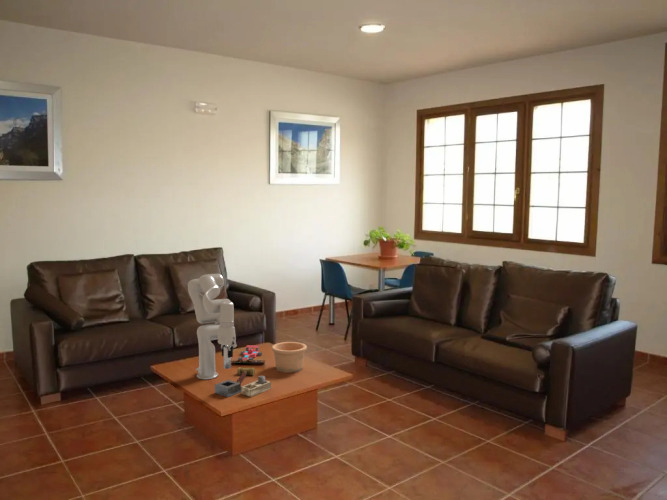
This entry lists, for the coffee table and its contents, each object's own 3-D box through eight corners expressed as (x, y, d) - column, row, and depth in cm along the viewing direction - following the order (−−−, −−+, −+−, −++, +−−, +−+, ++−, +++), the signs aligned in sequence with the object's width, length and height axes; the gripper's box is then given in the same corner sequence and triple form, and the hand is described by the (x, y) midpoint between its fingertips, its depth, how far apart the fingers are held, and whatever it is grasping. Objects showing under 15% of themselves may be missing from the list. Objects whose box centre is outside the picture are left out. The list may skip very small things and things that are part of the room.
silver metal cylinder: (222, 367, 317) (222, 346, 316) (227, 365, 321) (227, 345, 319) (227, 369, 315) (227, 347, 314) (232, 367, 318) (232, 346, 317)
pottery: (265, 368, 363) (264, 345, 361) (292, 361, 377) (292, 339, 376) (285, 376, 347) (285, 353, 345) (313, 369, 361) (313, 346, 360)
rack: (240, 393, 318) (240, 381, 317) (260, 385, 330) (260, 374, 330) (251, 396, 313) (251, 384, 312) (271, 388, 326) (271, 376, 325)
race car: (231, 355, 370) (242, 344, 395) (231, 364, 371) (243, 353, 396) (253, 356, 368) (263, 345, 393) (253, 365, 369) (263, 354, 394)
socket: (215, 393, 318) (214, 384, 318) (228, 388, 326) (228, 379, 326) (227, 397, 312) (227, 388, 312) (240, 392, 320) (240, 383, 320)
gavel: (245, 380, 331) (229, 379, 332) (246, 387, 332) (229, 387, 333) (255, 366, 351) (239, 366, 352) (255, 373, 352) (239, 373, 353)
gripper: (211, 323, 317) (211, 355, 319) (232, 327, 307) (233, 361, 309) (221, 320, 323) (221, 352, 325) (242, 325, 313) (243, 357, 315)
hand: (227, 356), depth 317 cm, fingers closed on silver metal cylinder, 4 cm apart
